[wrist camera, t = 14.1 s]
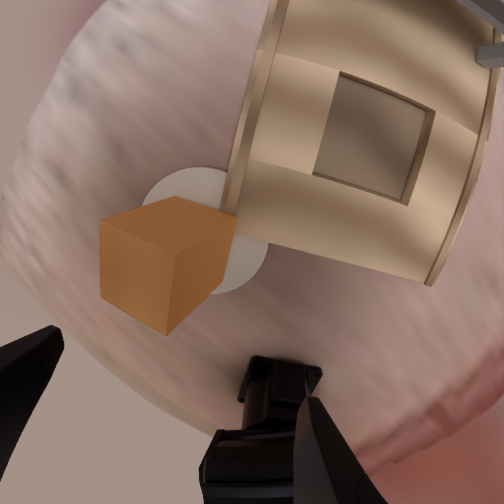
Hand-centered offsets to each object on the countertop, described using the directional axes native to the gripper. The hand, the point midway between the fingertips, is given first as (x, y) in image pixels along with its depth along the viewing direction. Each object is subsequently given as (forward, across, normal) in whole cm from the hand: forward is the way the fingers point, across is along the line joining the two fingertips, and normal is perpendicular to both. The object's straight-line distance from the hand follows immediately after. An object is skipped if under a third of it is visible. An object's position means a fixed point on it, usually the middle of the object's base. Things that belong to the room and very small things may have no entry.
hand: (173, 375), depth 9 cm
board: (+12, -8, -14) cm, 20 cm away
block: (+11, +2, 0) cm, 11 cm away
